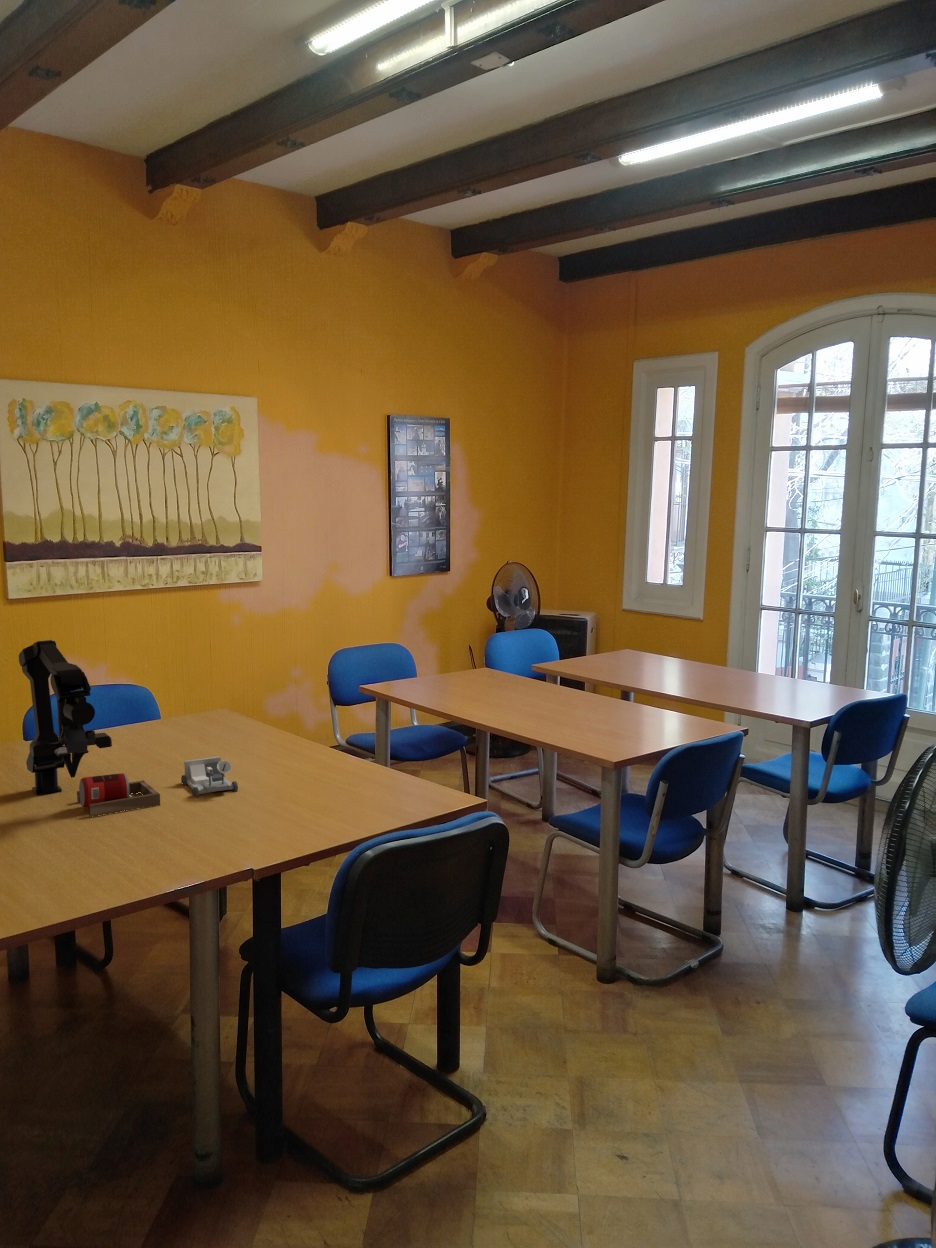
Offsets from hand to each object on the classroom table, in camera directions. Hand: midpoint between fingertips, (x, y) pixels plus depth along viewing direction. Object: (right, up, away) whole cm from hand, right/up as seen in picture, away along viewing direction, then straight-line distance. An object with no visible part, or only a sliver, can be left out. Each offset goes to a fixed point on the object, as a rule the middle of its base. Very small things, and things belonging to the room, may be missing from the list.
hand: (72, 777), depth 242 cm
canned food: (+2, -4, +1) cm, 5 cm away
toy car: (+30, -7, +21) cm, 37 cm away
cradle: (+8, -8, +7) cm, 14 cm away
